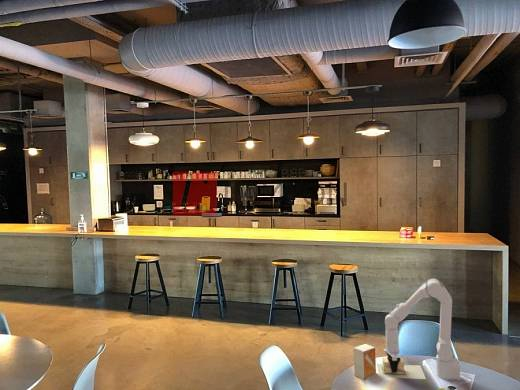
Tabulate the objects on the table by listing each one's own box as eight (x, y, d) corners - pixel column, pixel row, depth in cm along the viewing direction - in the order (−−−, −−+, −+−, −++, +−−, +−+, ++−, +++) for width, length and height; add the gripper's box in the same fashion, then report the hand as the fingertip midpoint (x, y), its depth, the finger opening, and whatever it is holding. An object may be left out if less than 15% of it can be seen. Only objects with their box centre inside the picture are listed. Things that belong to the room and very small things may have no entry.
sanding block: (402, 368, 199) (402, 358, 199) (404, 373, 194) (403, 362, 194) (382, 368, 201) (382, 357, 201) (383, 372, 196) (383, 362, 196)
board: (420, 367, 202) (420, 365, 202) (426, 381, 188) (425, 379, 188) (377, 366, 206) (376, 364, 206) (379, 379, 192) (379, 377, 192)
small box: (364, 380, 192) (363, 351, 192) (354, 375, 198) (352, 347, 197) (376, 374, 197) (375, 347, 196) (366, 370, 202) (365, 343, 202)
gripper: (381, 334, 205) (383, 362, 205) (384, 346, 191) (386, 376, 191) (397, 335, 204) (398, 363, 204) (401, 346, 190) (402, 376, 190)
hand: (393, 369), depth 198 cm, fingers closed on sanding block, 5 cm apart
